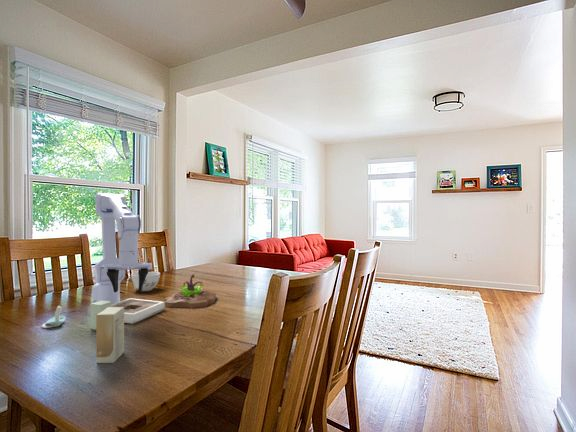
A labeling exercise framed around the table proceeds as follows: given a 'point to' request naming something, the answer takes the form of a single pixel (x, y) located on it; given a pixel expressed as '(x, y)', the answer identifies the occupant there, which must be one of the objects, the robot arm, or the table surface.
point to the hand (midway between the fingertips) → (128, 291)
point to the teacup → (146, 280)
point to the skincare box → (109, 334)
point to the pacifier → (55, 319)
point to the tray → (142, 313)
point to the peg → (97, 311)
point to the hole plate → (134, 306)
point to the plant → (190, 296)
